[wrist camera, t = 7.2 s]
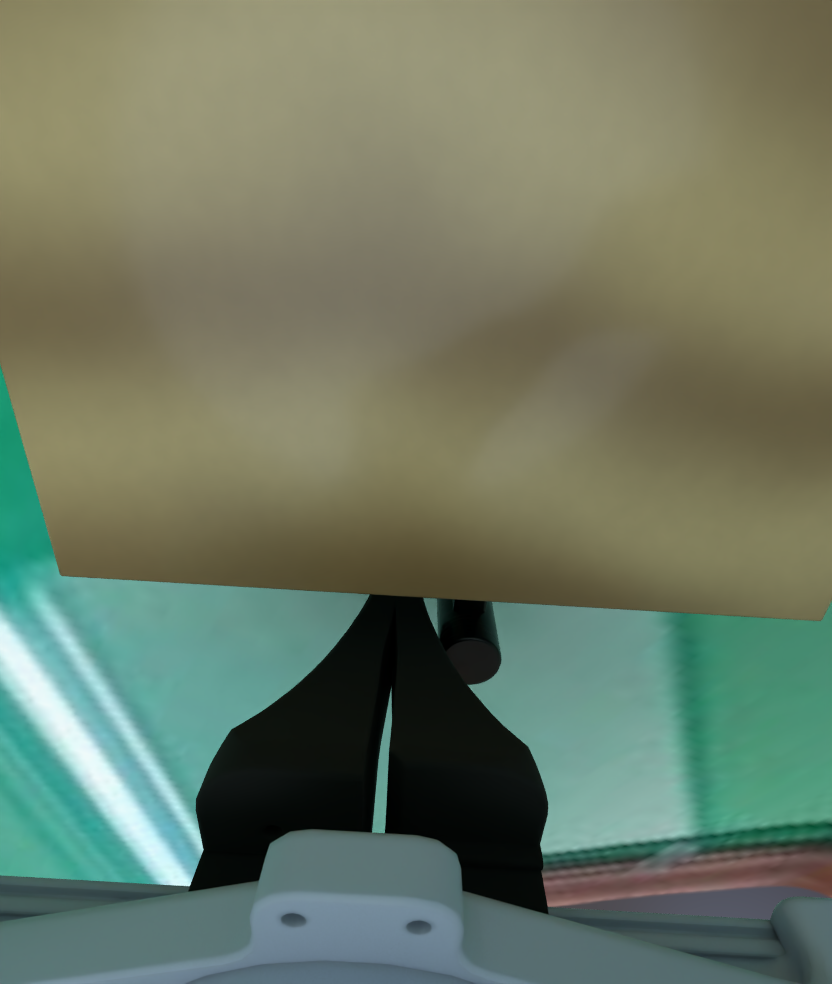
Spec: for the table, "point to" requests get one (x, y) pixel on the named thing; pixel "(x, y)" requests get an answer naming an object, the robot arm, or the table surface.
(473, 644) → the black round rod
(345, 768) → the robot arm
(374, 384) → the cupboard
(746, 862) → the table surface
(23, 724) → the table surface
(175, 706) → the table surface
